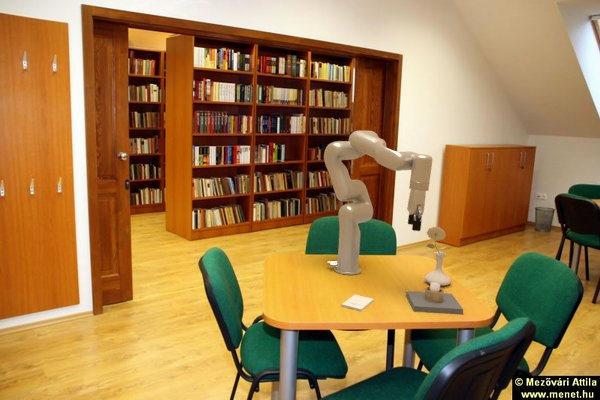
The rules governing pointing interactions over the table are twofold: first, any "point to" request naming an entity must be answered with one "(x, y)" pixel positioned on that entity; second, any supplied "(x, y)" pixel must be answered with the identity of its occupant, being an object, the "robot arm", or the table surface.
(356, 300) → the external hard drive
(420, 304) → the piston stand
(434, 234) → the flower in vase
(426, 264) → the table surface
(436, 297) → the bronze ring
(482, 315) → the table surface
